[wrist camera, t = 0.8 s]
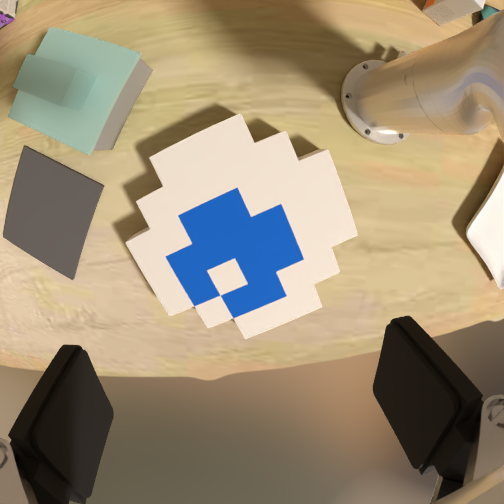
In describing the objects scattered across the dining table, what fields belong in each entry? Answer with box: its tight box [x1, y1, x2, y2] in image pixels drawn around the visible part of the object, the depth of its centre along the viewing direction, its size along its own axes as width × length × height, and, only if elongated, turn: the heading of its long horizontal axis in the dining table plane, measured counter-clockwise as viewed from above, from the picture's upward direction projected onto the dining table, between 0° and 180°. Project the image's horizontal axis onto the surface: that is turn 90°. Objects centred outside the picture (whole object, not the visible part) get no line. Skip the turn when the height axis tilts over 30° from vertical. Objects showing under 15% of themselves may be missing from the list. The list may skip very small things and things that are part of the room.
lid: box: [8, 27, 142, 155], centre depth 23 cm, size 13×15×6 cm
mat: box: [3, 146, 104, 280], centre depth 37 cm, size 16×16×1 cm
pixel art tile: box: [125, 113, 358, 339], centre depth 40 cm, size 28×4×28 cm
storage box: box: [93, 59, 153, 151], centre depth 29 cm, size 12×14×7 cm
